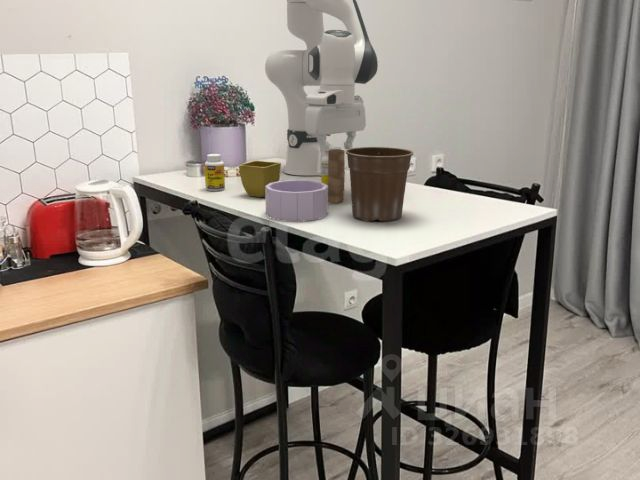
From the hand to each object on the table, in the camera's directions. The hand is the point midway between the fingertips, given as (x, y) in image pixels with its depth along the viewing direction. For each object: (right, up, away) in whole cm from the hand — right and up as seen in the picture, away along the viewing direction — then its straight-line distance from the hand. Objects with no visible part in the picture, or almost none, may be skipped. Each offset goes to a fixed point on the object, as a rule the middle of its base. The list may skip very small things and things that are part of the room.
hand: (336, 150), depth 169 cm
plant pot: (+10, -18, -9) cm, 22 cm away
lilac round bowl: (-10, -17, -8) cm, 21 cm away
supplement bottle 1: (-35, -9, +19) cm, 41 cm away
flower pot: (-21, -11, +12) cm, 27 cm away
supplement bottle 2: (-1, -10, +17) cm, 19 cm away
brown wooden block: (0, -13, +4) cm, 14 cm away
